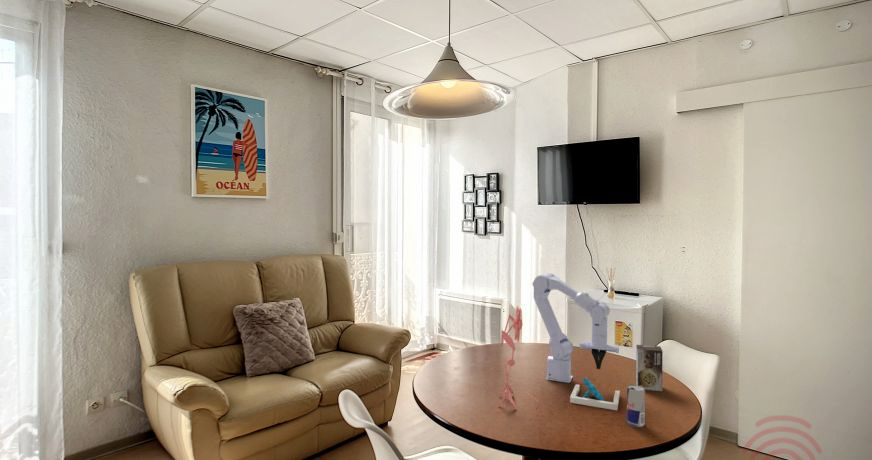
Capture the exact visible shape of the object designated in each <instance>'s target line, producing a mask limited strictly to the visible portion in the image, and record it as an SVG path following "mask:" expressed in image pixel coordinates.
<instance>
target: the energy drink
mask: <svg viewBox="0 0 872 460" xmlns="http://www.w3.org/2000/svg"><path fill="white" fill-rule="evenodd" d="M626 391H627V392H626V423H627V424H628V426H630V427H634V428H643V427H644V426H645V417H646V415H645V412H646V411H645V410H646V390H644V388H643V387H641V386H638V385H636V384H630V385H627V389H626Z"/></svg>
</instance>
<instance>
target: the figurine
mask: <svg viewBox="0 0 872 460" xmlns="http://www.w3.org/2000/svg"><path fill="white" fill-rule="evenodd" d="M521 316H522V308H519V306H518V305H517V306H516V310H515V318H514V317H513V316H512V315H511V314H509V315H508V318H507V320H506V325H505V329H504V330H501V331H500V332H501V338H500V347H503V344H504V342H505V343H506V344H507V345H508V347H510V348H511V349H512V352H511V358H508V359H507V361H506V363H505V364H504V369H505V371H504V372H505V377H506V381H504V384H505V385H504V387H503V388H502V391H501V392H500V394H499V395H498V396H499V398H501V397H502V395H503V394H504V393H505V394H504V396H503V398H502V399H501V401H500V402H499V405H498V407H499V408H500V407H502V405H503V402H504V401H505V398H507V400H508V401H509V403H510V405H511V406H512V407H513V408H514V410H517V406H516V404H515V403H516V402H515V401H514V399H513V396H514V390H513V389H512V387H511V385H510V383H509V373H510V371H511V369H512V367H513V366H514V365H515V363H516V361H515V360H514V352H515V351H516V346H515V342H514V340H515V341H516V342H517V343H520V335H521V334H520V333H521V332H520V331H521V330H522V327H523V320H522V319H521ZM510 320H511V322H512V325H511V326H510V327H509V329H508V330H507V328H508V325H509V321H510ZM512 329H514V340H513V338H512V337H511V336H510V335H509V333H510V331H511V330H512ZM506 331H507V332H506ZM507 365H508V366H509V369H508V370H507ZM524 394H526V395H529V396H531V397H532V398H533V399H535V396H532V395H530V394H529V393H527V392H524ZM536 402H537V403H539V401H538V400H536ZM537 409H538V407H536V408H535V410H537ZM495 413H497V414H499V412H498V411H496V412H495Z"/></svg>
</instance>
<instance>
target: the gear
mask: <svg viewBox="0 0 872 460" xmlns="http://www.w3.org/2000/svg"><path fill="white" fill-rule="evenodd" d="M582 381H583V383H584V384H585V385H586V388H587V391H586V392H584V395H583V396H582V398H589V396H590V395H594V396H595V398H596V400H600V401H605V399H604V398H603V397H604V396H603V395H602V394H601V392H600V391H599V390H598V389H597V388H596V386H595V385H594V383H592V382H591V380H589V379H588V378H586V377H584V378H582Z"/></svg>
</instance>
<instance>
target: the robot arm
mask: <svg viewBox="0 0 872 460" xmlns="http://www.w3.org/2000/svg"><path fill="white" fill-rule="evenodd" d="M532 287H533V300H534V302H535V304H536V308H537V310H538V312H539V314H540V316H541V319H542V321H543V323H544V326H545V328H546V331H547V333H548V335H549V340H548V344H549V348H550V350H549V351H550V352H549V353H550V354H551V355H548V357H547V359H546V360H547V361H546V381H547V380H548V381H554V382H555V381H556V382H560V383H568V384H570V383H571V382H572V379H573V377H574V376H573V375H571V373H572V372H571V371H572V370H571V368H572V367H571V366H572V365H571V363H572V362H571V361H572V360H571V359H572V358H571V355H572V353H573V352H574V345H573V343H572V342H571V341H570V340H569V338H568V335H567V334H565V333H564V332H563V331H562V329H561V326H560V324H559V322H558V319H557V317H556V315H555V312H554V310H553V307H552V305H551V303H550V300H549V298H548V297H549V295H550V292H551V291H552V290H557V291H559V292H561V293H562V294H564V295H566V296H567V297H569V298H571V299H573V300H574V304H575V305H576V306H578V307H580V308H581V309H583V310H584V311H586V312H587V313H589V315H590V317H591V342H582V341H581V342H579V349H585V350H591V354H592V357H593V359H594V363H595V366H596V368H595V369H596V370H601V368H602V363H603V360H604V357H605V356H606V354H607V352H609V353H616V354H619V353H620V347H618V346H613V345H609V344H608V316H609V315H610V311H611V309H610V307H609V306H608V305H607V304H606V303H605V302H600V300H598V299H595V298H593V297H592V296H590V294H589V293H588V292H583V291H582V292H578V291H577V290H576V289H574V288H573V287H572V286H570V285H569V284H567V282H565V281H563V280H562V279H561V278H560V277H559V276H556V275H555V274H553V273H546V274H539V275H536V277H534V280H533V281H532Z"/></svg>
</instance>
